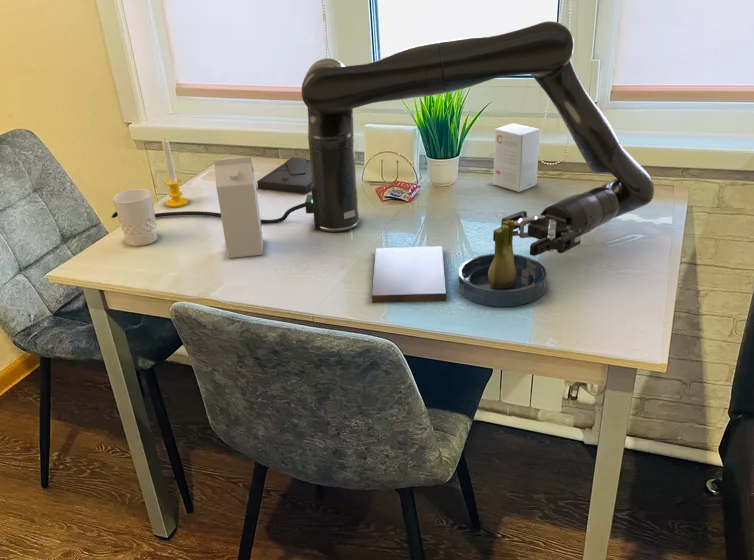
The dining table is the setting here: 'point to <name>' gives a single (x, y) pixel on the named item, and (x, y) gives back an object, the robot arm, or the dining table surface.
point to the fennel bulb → (503, 259)
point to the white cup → (136, 216)
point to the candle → (172, 179)
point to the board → (409, 275)
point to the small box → (516, 157)
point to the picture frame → (289, 177)
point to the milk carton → (239, 207)
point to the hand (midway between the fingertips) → (512, 243)
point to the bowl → (480, 291)
